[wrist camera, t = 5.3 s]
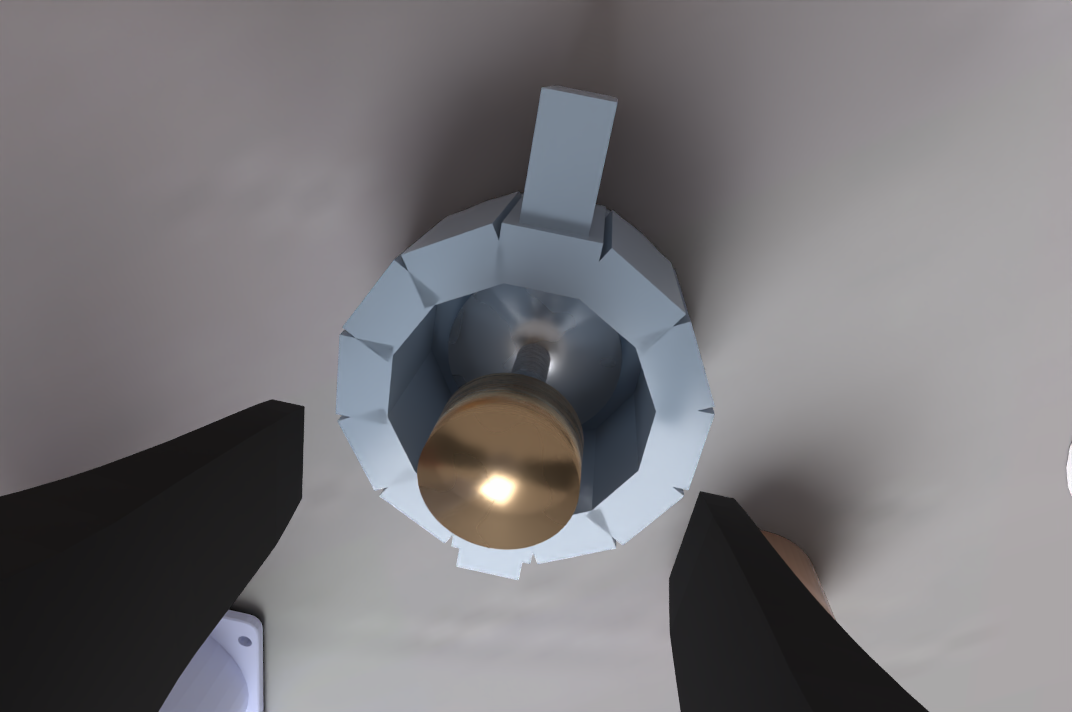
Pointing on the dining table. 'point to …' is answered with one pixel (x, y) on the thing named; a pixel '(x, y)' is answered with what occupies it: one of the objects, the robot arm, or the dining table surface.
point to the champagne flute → (1069, 469)
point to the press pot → (550, 266)
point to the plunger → (517, 415)
